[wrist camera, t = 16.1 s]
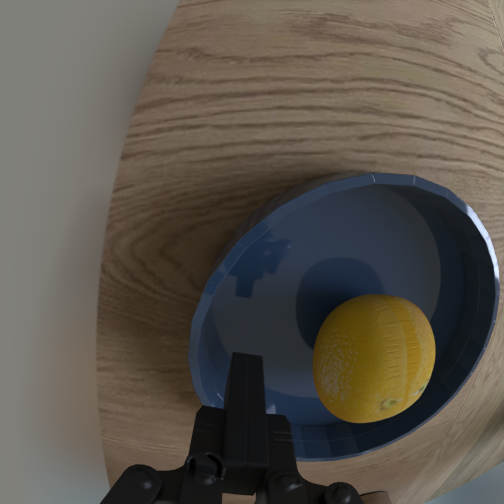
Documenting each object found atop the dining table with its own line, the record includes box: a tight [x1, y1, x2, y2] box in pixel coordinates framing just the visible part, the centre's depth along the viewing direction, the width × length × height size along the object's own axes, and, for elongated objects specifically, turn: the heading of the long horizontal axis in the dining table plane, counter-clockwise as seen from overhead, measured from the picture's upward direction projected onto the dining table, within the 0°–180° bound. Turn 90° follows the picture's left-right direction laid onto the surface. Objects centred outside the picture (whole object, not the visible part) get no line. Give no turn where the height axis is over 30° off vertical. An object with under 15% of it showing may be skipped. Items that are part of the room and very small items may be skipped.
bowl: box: [188, 171, 500, 462], centre depth 19 cm, size 23×23×5 cm
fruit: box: [313, 294, 435, 423], centre depth 17 cm, size 9×8×8 cm
